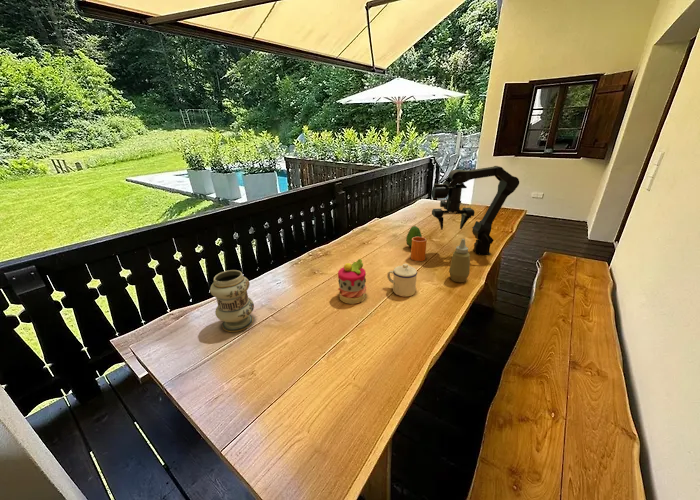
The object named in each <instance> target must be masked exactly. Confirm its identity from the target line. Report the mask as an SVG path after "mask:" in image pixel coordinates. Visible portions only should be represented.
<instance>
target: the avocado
mask: <svg viewBox="0 0 700 500" xmlns="http://www.w3.org/2000/svg"><path fill="white" fill-rule="evenodd" d="M413 237H423V236H422V232H421V229H420V228H419V227H418V226H417V225H412V226H411V227H410V229H409V231H408V232H407V235H406V239H405V242H406V244H407V247H409V248H411V245H412V238H413Z"/></svg>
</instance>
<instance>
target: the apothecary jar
mask: <svg viewBox="0 0 700 500" xmlns="http://www.w3.org/2000/svg"><path fill="white" fill-rule="evenodd" d="M250 283H251V282H250V281H249V279H248V278H247V277H246V276H244V274H243V272H242V271H240V270H237V269H230V270H229V269H228V270H225V271H221V272H219V273H217V274H216V275H215V276H214V277H213V282H212V284H211V285H210V287H209V293H210V294H211V296H213V297H215V300H216V303H217V306H216V308H215V310H214V311H215V312H214V313H215V317H216V318H217V319H218V320H220V321H221V322H222V324H221V325H222V327H221V328H222V329H223V330H224V331H225V332H228V333H237V332H241V331H244V330H246V329H247V328H250V327H251V326H252V324H253V322H254V318H253V315H251V314H252V313H253V312H254V309H255V303H254V301H253V300H252V299H251V298H250V297H249V294H248V290H249V288H250Z"/></svg>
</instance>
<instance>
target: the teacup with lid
mask: <svg viewBox="0 0 700 500" xmlns="http://www.w3.org/2000/svg"><path fill="white" fill-rule="evenodd" d="M390 274H393V278H391V275H390ZM417 275H418V270H417V268H415V267H413V266H411V265H409V264H408V263H403V264H402V265H397V266H395V267H394V268H393V270H389V271H388V272H387V275H386V277H387V279H388V282H390V283H392V291H393V293H394V294H395V295H397V296H399V297H412V296H413V295H414V294H416V288H417V287H416V286H417Z"/></svg>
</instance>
